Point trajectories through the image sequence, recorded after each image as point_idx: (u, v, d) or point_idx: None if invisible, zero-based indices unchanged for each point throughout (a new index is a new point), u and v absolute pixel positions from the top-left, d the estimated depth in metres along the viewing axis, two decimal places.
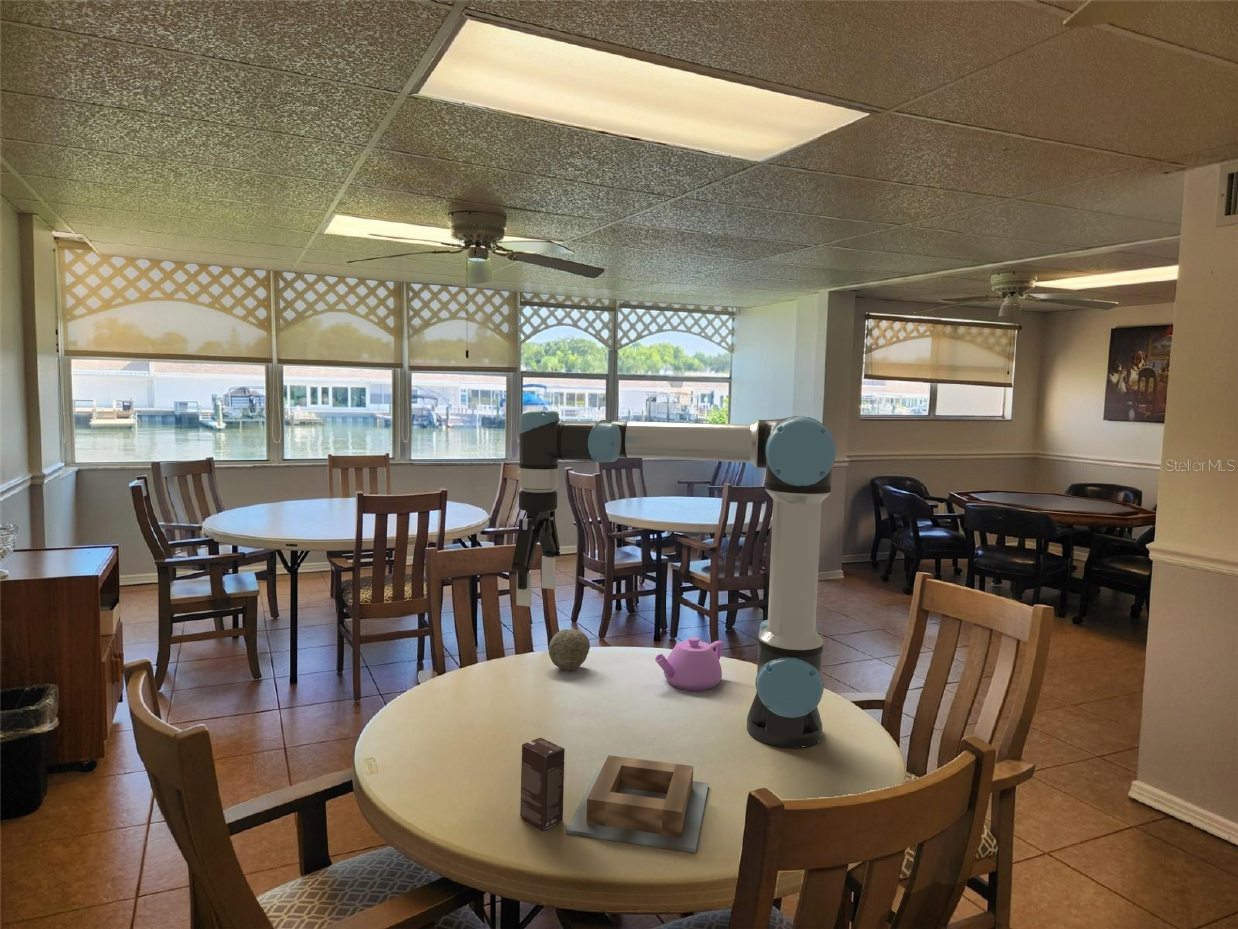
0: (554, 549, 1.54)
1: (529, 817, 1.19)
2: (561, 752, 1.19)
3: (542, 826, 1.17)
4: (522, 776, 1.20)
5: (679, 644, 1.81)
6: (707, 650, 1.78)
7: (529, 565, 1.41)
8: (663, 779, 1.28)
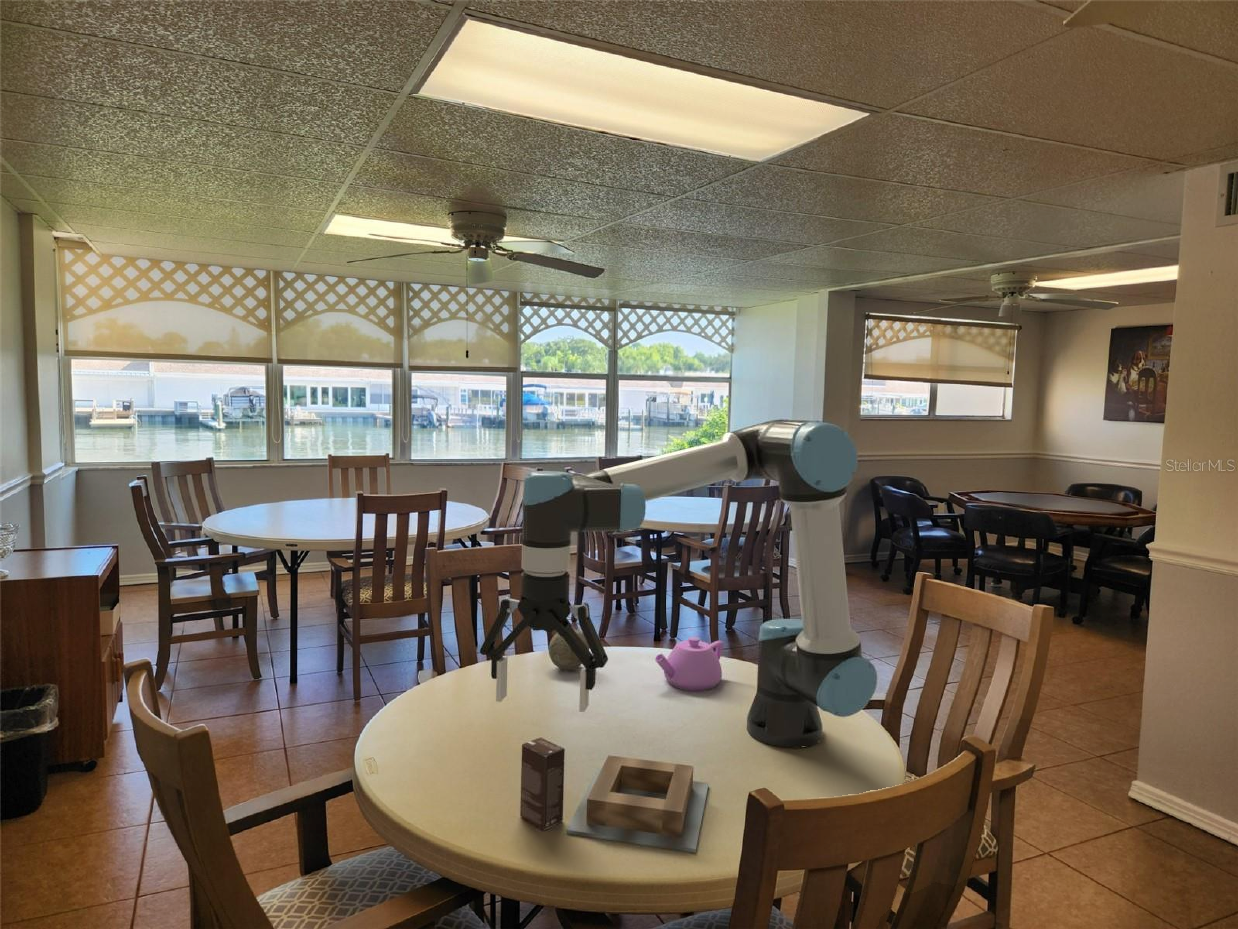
0: (583, 660, 1.16)
1: (529, 817, 1.19)
2: (561, 752, 1.19)
3: (542, 826, 1.17)
4: (522, 776, 1.20)
5: (679, 644, 1.81)
6: (707, 650, 1.78)
7: (496, 652, 1.19)
8: (663, 779, 1.28)
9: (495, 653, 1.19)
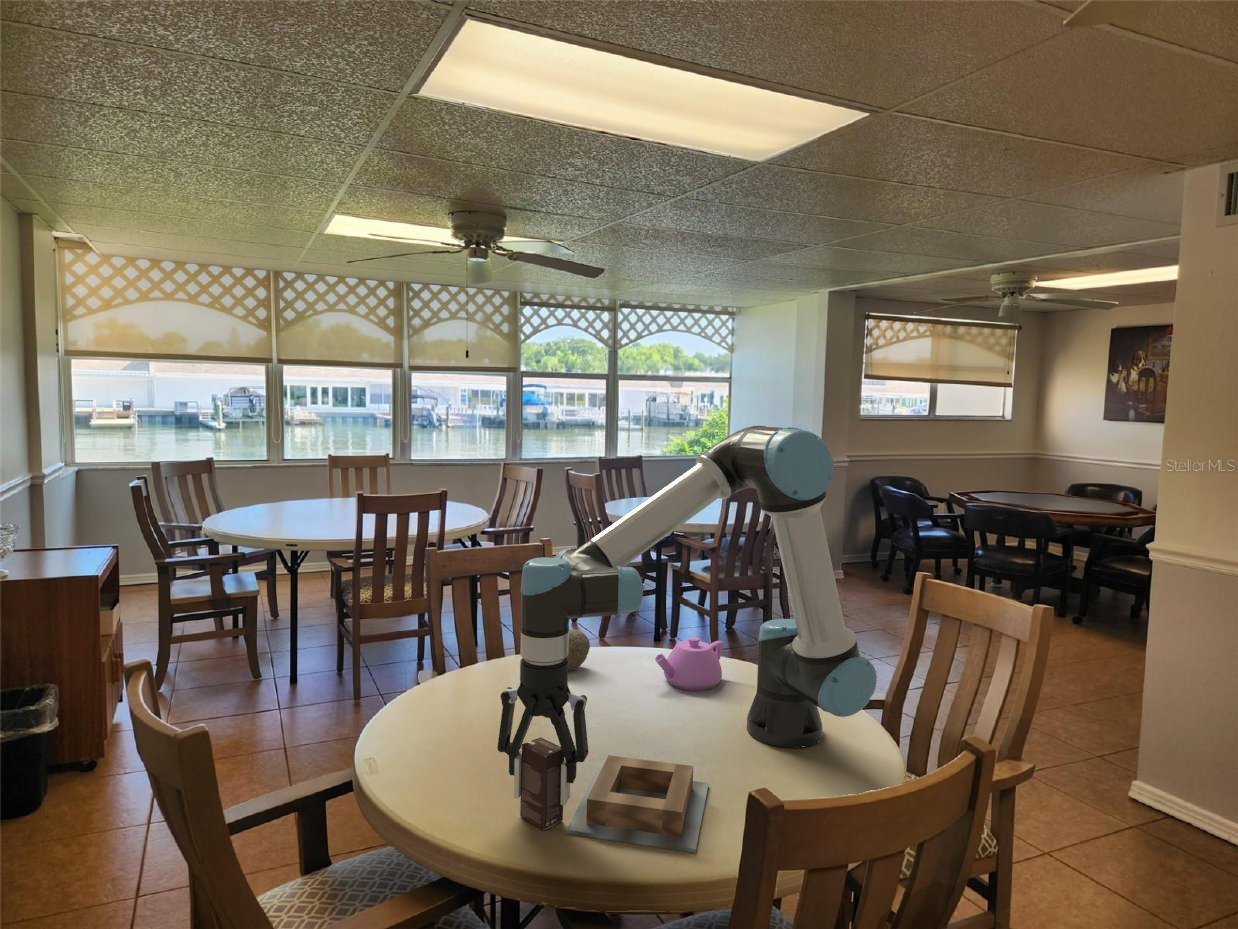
0: (566, 753, 1.17)
1: (529, 817, 1.19)
2: (561, 752, 1.19)
3: (542, 826, 1.17)
4: (522, 776, 1.20)
5: (679, 644, 1.81)
6: (707, 650, 1.78)
7: (512, 749, 1.19)
8: (663, 779, 1.28)
9: (511, 750, 1.19)
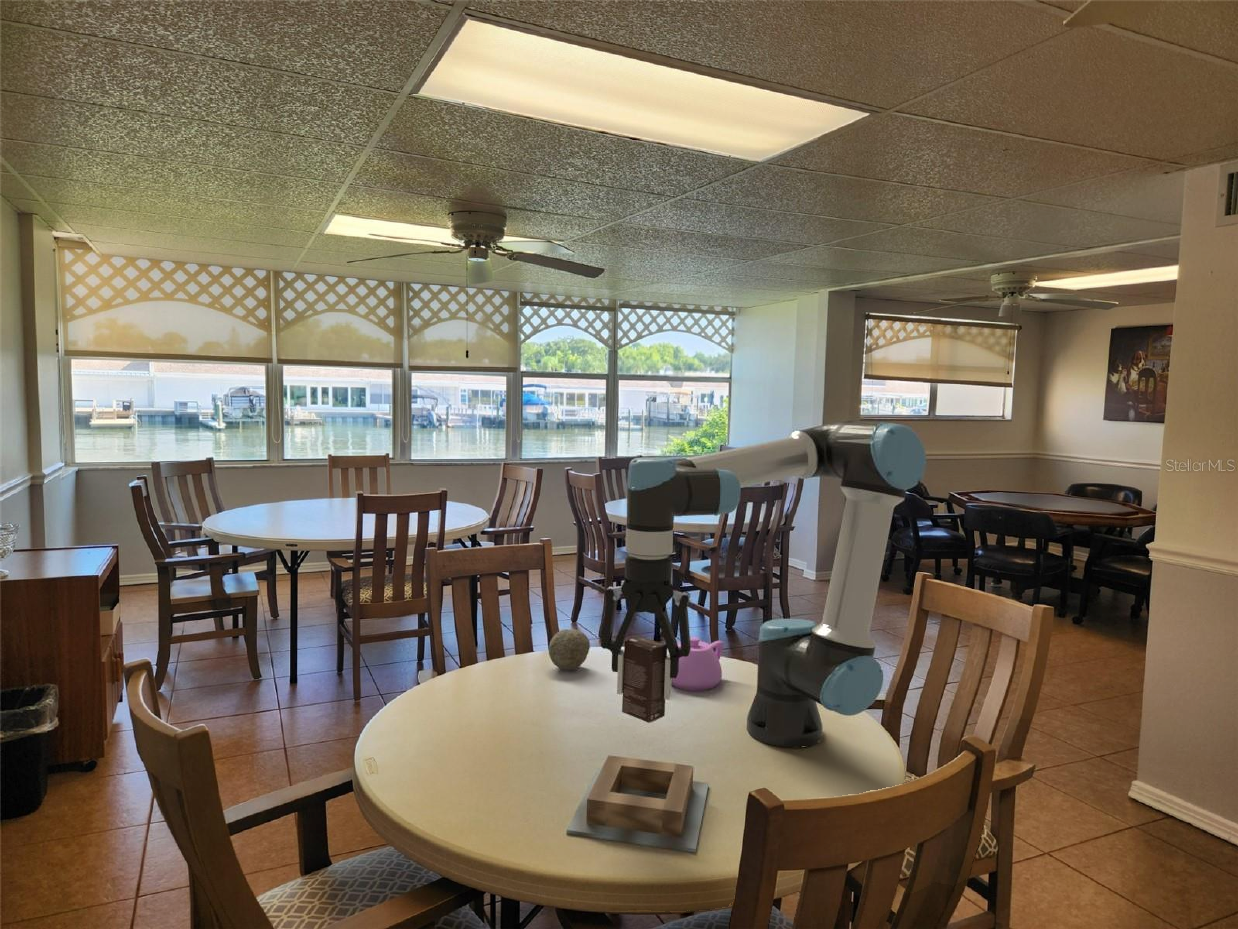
0: (670, 648, 1.20)
1: (632, 712, 1.21)
2: (664, 648, 1.21)
3: (647, 719, 1.19)
4: (625, 672, 1.22)
5: (679, 644, 1.81)
6: (707, 650, 1.78)
7: (616, 645, 1.22)
8: (663, 779, 1.28)
9: (615, 646, 1.22)
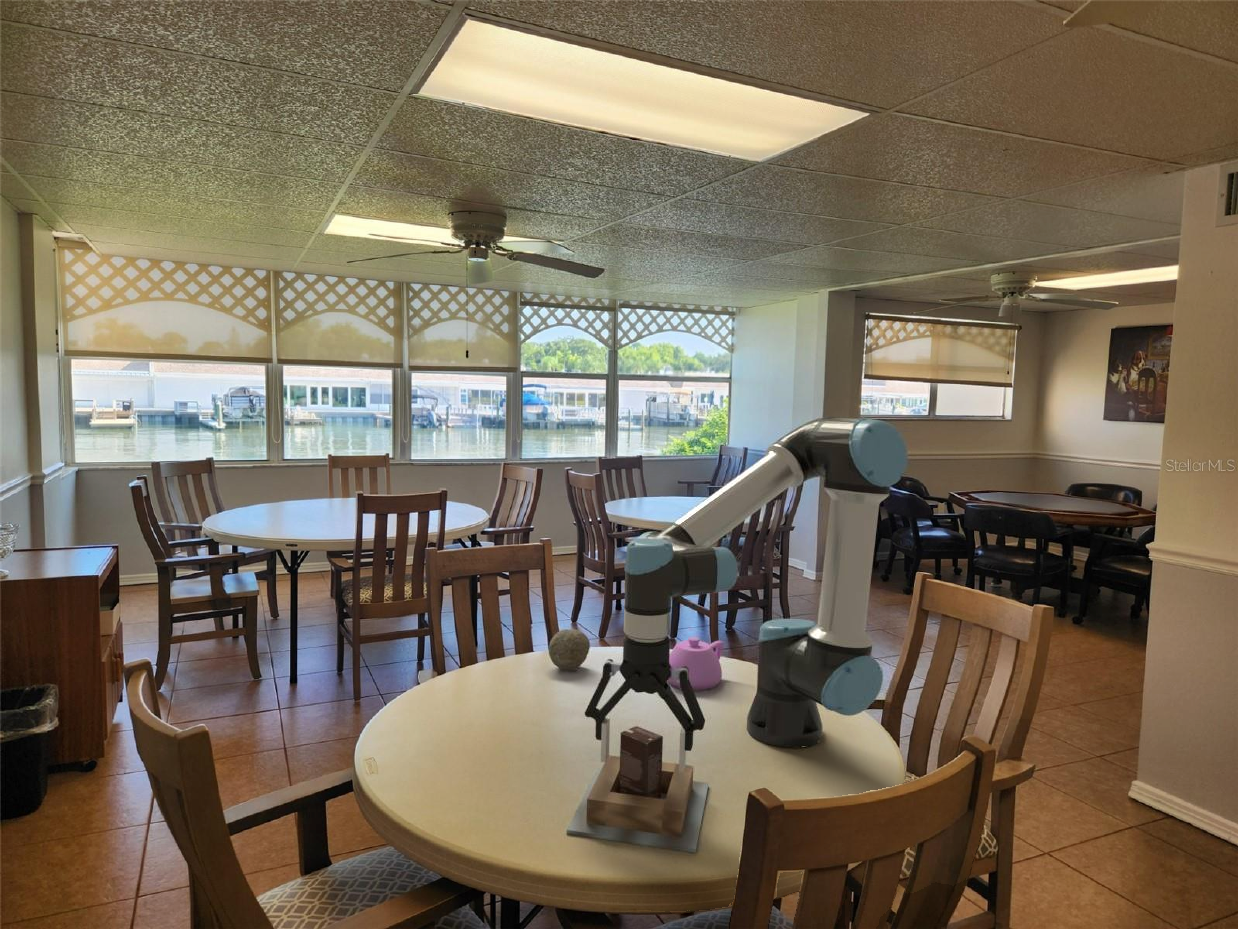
0: (683, 722, 1.20)
1: None
2: (660, 740, 1.22)
3: None
4: (621, 763, 1.24)
5: (679, 644, 1.81)
6: (707, 650, 1.78)
7: (601, 715, 1.23)
8: (663, 779, 1.28)
9: (600, 716, 1.23)
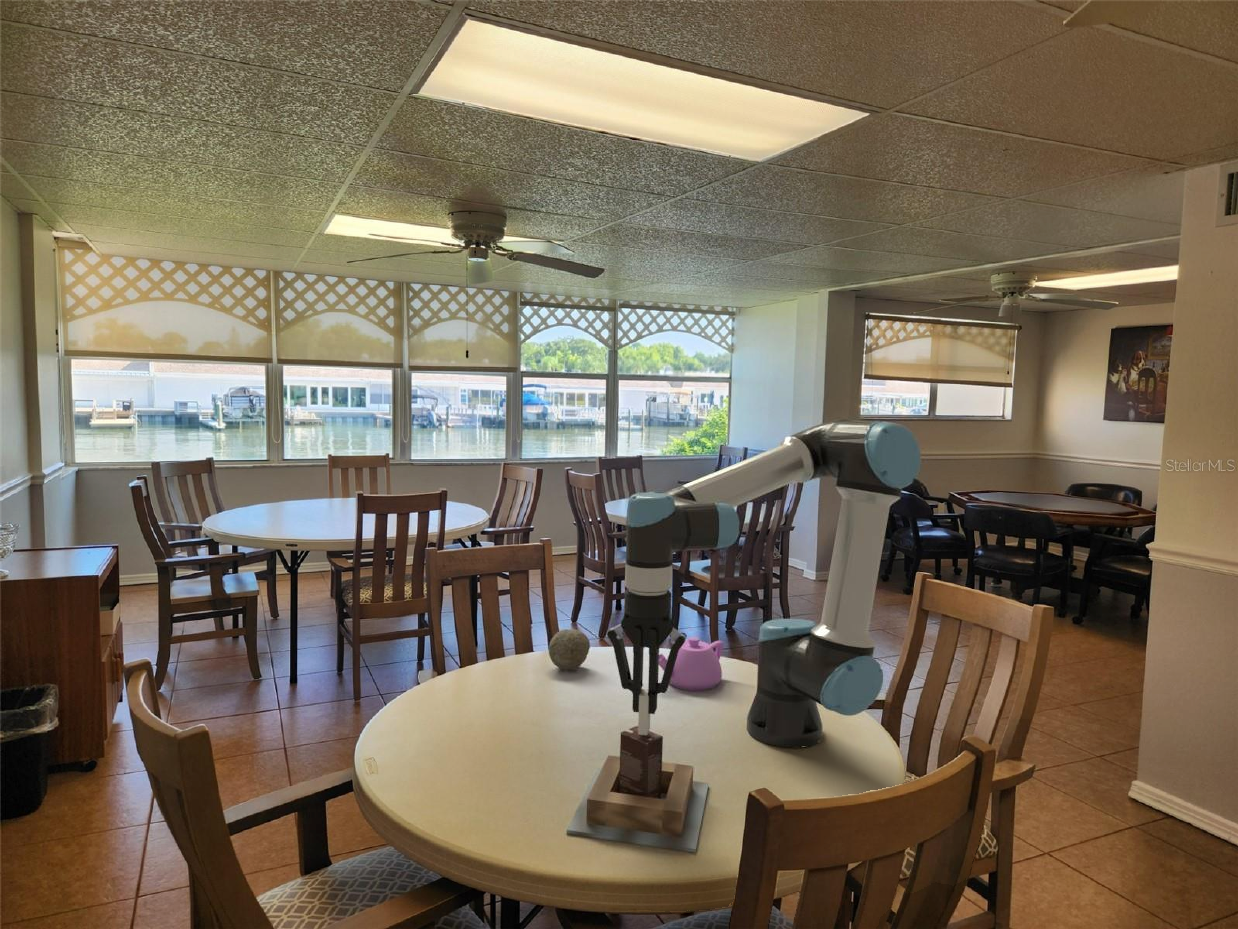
0: (651, 684, 1.21)
1: None
2: (660, 740, 1.22)
3: None
4: (621, 763, 1.24)
5: None
6: (707, 650, 1.78)
7: (635, 685, 1.22)
8: (663, 779, 1.28)
9: (635, 687, 1.22)
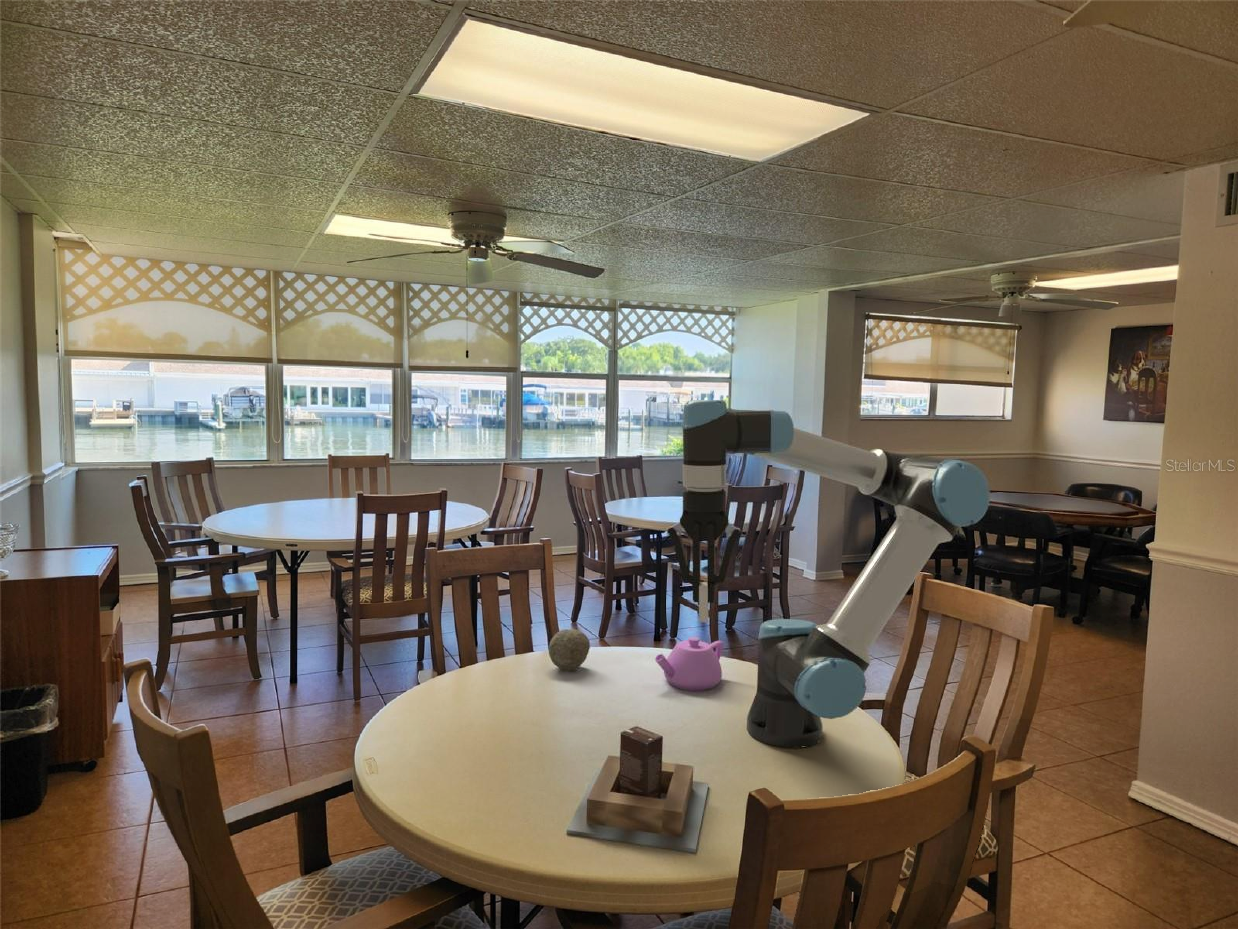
0: (710, 574, 1.32)
1: None
2: (660, 740, 1.22)
3: None
4: (621, 763, 1.24)
5: (679, 644, 1.81)
6: (707, 650, 1.78)
7: (695, 577, 1.32)
8: (663, 779, 1.28)
9: (695, 578, 1.32)
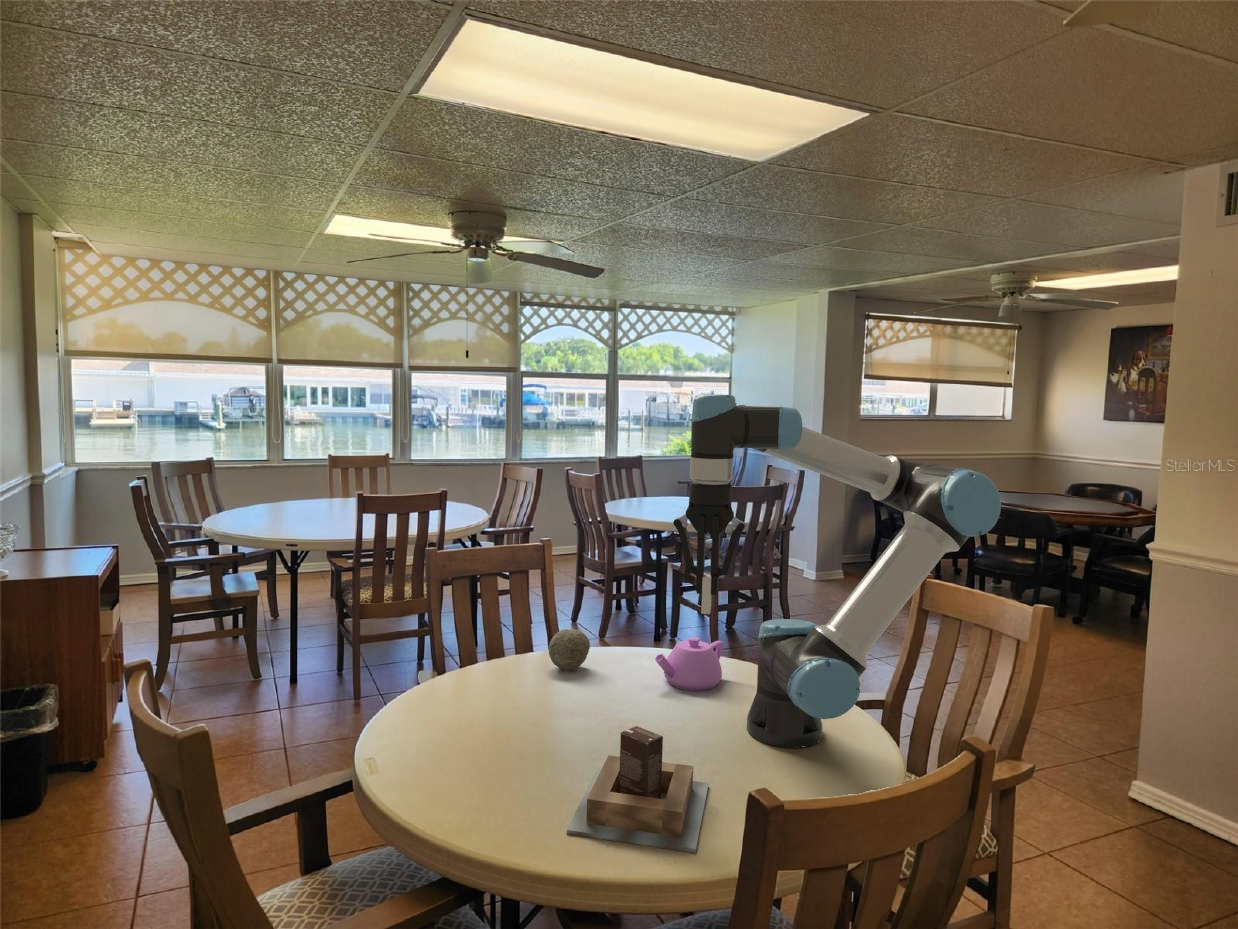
0: (714, 567, 1.33)
1: None
2: (660, 740, 1.22)
3: None
4: (621, 763, 1.24)
5: (679, 644, 1.81)
6: (707, 650, 1.78)
7: (699, 569, 1.34)
8: (663, 779, 1.28)
9: (698, 570, 1.34)
